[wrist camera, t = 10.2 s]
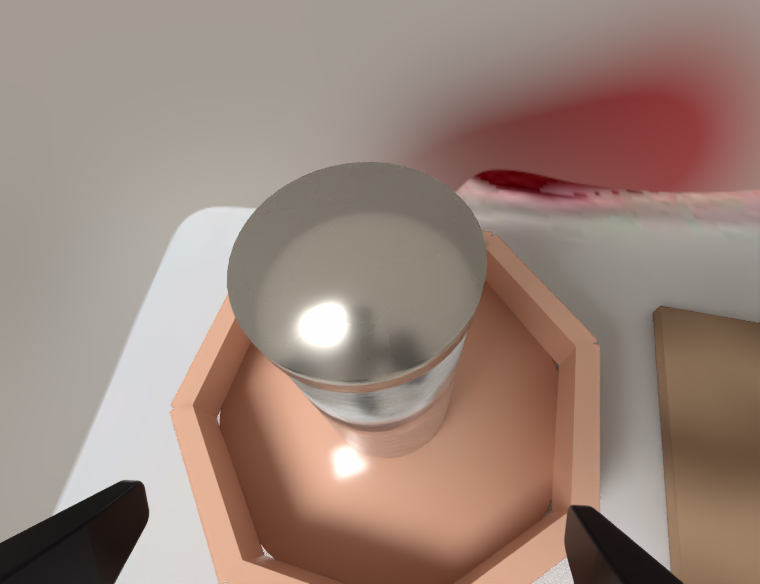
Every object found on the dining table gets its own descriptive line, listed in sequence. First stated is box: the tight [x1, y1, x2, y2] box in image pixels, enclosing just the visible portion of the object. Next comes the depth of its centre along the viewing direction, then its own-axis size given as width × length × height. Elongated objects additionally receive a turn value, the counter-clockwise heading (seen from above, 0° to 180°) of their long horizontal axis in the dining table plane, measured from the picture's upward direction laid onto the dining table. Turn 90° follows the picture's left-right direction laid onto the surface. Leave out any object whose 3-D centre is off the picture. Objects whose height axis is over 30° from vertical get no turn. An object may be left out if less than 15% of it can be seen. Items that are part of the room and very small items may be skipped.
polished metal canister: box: [227, 162, 487, 458], centre depth 15 cm, size 6×6×12 cm
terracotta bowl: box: [169, 230, 600, 584], centre depth 19 cm, size 18×18×4 cm
